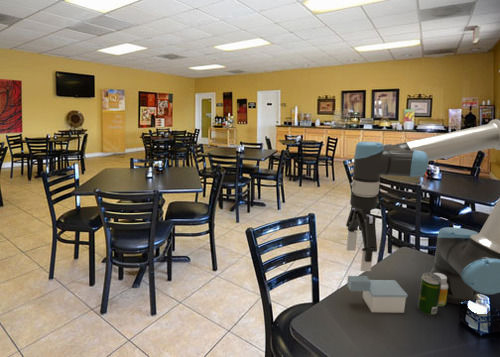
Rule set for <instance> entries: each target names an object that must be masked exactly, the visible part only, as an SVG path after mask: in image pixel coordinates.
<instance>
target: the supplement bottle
mask: <svg viewBox="0 0 500 357" xmlns="http://www.w3.org/2000/svg"><path fill="white" fill-rule="evenodd" d="M434 274H436V275H438V276H439V277H440V278H441V289H440V295H439V302H438V307H444V306H445V305H446V304H447V302H446V299H447V293H448V284H447V283H446V282H447V277H446V276H445V275H443V274H441V273H434Z"/></svg>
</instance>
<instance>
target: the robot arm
mask: <svg viewBox="0 0 500 357" xmlns="http://www.w3.org/2000/svg"><path fill="white" fill-rule="evenodd" d="M489 149H490V150H491V149H495V150H496V151H500V117H499V118H495V119H492V120H490V121H489V122H488V123H487V124H482V125H478V126H474V127H470V128H464V129H459V130H455V131H452V132H451V131H450V132H447V133H443V134H437V135H432V136H428V137H427V136H426V137H423V138H418V139H413V140H409V141H405V142H401V143H400V142H399V143H396V144H392V143H391V144H390V143H389V144H384V143H383V142H378V141H368V140H367V141H359V142H357V144H356V146H355V151H354V157H353V169H352V182H350V186H351V192H352V193H350V200H349V201H350V202H349V204H350V211H349V214H348V218H347V220H346V224H345V226H346V227H347V231H348V232H347V239H346V240H347V241H346V251H349V252H351V251H352V252H353V251H354V252H355V251H356V247H357V238H358V231H359V229H361V235H362V236H361V238H362V242H363V248H362V249H361V263H360V272H371V271H372V265H373V264H372V263H373V255H374V254H373V253H377V252H378V242H377V230H376V220H377V218H376V215H372V214H371V211H372V210H375V209H376V208H377V207H378V198H379V197H378V196H377V195H378V194H379V190H380V183H381V182H380V179H381V176H392V177H394V176H395V177H408V178H409V177H410V178H415V177H416V178H418V177H423V176H424V175H425V174H426V173H427V170H428V167H429V162H431V161H436V160H440V159H446V158H450V157H455V156H461V155H465V154H471V153H475V152H480V151H481V152H482V151H484V150H489ZM358 228H359V229H358ZM433 260H434V261H433V266H432V269H431V270H430V272H429V273H433V274H434V273H441V274H443V275H445V276H446V277H447V282H446V283H447V284H448V293H447V299H446V303H450V304H454V305H460V303H461V302H464V301H469V300H471V301H473V300H475V297H476V294H477V295H478V293H480V294H483V295H495V294H496V295H497V294H500V197H499V198H498V200H497V202H496V203H495V205H494V206H493V209H492V210H491V212H490V213H489V215H488V217H487V219H486V221H485V222H484V224H483V226H482V228H481V229H480V232H477V231H475V230H471V229H467V228H461V227H449V226H448V227H446V226H445V227H441V228H440V229H439V231H438V233H437V237H436V246H435V254H434V259H433ZM476 298H477V297H476Z"/></svg>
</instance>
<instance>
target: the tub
mask: <svg viewBox="0 0 500 357" xmlns="http://www.w3.org/2000/svg"><path fill="white" fill-rule="evenodd" d="M362 299H363V300H364V302H365V304H366V305H367V307H368V308H369V311H370V312H371V313H397V314H398V313H405V306H406V300H407V297H372V295H371V294H370V292H369V291H362Z"/></svg>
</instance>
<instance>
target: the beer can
mask: <svg viewBox="0 0 500 357" xmlns="http://www.w3.org/2000/svg"><path fill="white" fill-rule="evenodd" d="M419 286H420V287H419V294H418V301H417V309H418V311H419V312H421V313H422V314H425V315H427V316H435V315H437V313H438V308H439V306H438V302H439V295H440V289H441V278H440V277H439V276H438V275H436V274H433V273H430V272H424V273H422V276H421V278H420V285H419Z"/></svg>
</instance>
